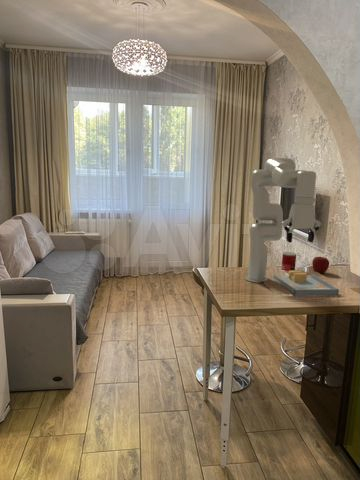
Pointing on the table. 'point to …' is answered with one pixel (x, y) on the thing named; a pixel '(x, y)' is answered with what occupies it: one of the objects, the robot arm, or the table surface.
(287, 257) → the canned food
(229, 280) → the table surface
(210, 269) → the table surface
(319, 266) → the apple
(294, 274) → the block
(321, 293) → the grey tray
